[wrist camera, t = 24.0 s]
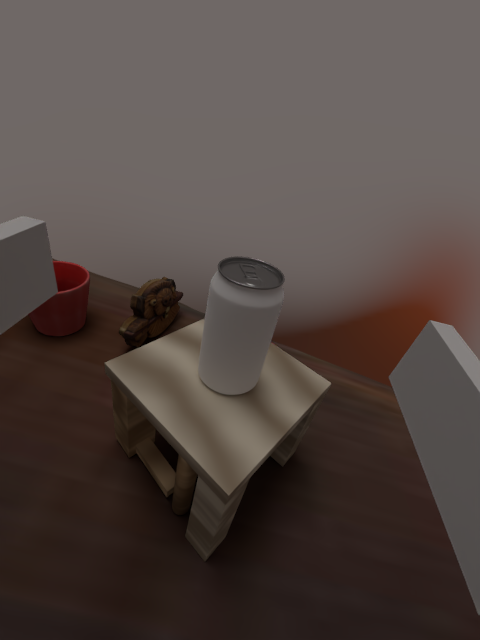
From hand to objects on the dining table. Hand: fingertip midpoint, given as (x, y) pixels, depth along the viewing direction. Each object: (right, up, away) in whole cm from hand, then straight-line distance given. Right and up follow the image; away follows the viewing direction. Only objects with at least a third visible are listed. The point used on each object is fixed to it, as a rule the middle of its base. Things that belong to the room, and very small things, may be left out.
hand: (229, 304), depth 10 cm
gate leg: (-10, -18, +25) cm, 32 cm away
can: (-1, -6, +21) cm, 22 cm away
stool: (-4, -17, +28) cm, 34 cm away
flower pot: (-32, -1, +43) cm, 53 cm away
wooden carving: (-16, -3, +46) cm, 49 cm away
